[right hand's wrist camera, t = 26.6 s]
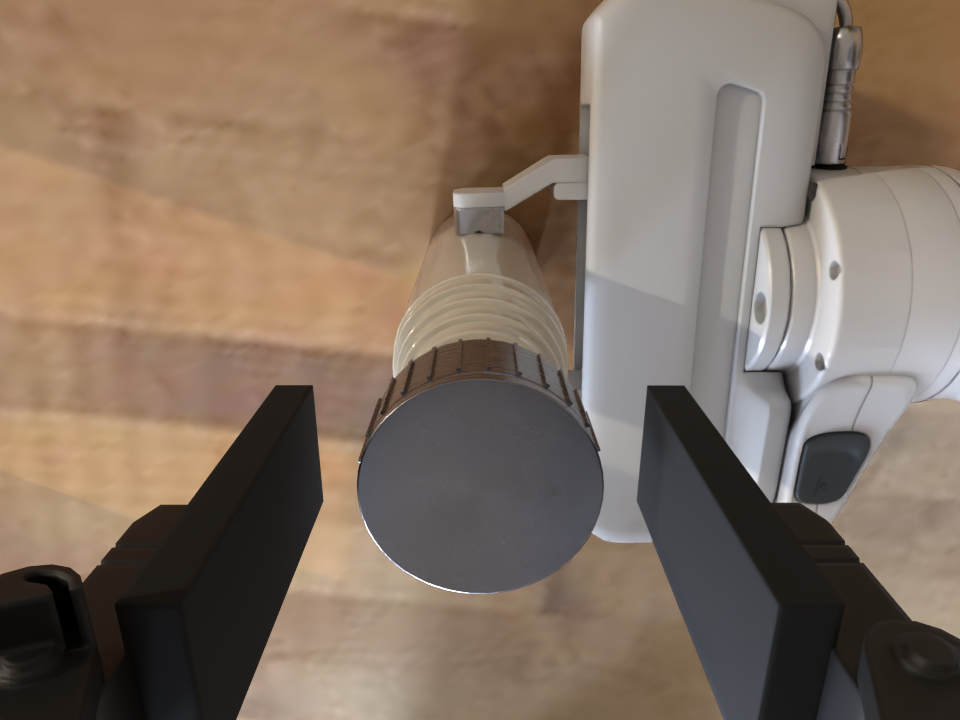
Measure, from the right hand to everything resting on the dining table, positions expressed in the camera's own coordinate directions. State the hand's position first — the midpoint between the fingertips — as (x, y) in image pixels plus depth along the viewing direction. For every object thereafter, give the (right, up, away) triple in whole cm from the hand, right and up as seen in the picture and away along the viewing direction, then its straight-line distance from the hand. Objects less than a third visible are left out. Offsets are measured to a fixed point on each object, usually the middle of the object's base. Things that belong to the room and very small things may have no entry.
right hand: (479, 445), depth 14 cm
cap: (0, -1, -1) cm, 2 cm away
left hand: (-1, +4, +12) cm, 12 cm away
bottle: (0, +6, +17) cm, 18 cm away
